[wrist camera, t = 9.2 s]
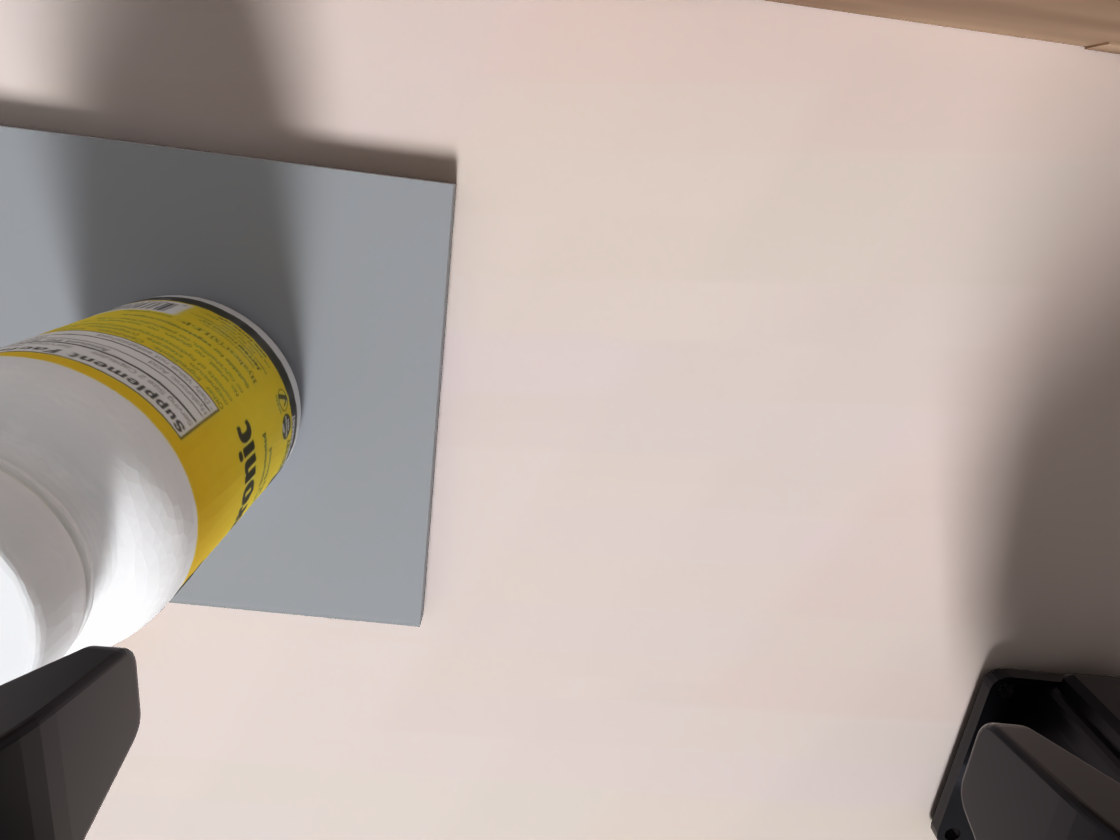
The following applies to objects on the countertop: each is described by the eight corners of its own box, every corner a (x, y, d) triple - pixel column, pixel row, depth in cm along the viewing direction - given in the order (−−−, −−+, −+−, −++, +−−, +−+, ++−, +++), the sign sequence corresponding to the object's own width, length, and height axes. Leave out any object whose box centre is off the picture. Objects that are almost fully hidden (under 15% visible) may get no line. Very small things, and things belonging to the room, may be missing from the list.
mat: (422, 614, 22) (419, 626, 22) (-6, 572, 22) (-21, 584, 21) (456, 183, 18) (453, 184, 18) (-65, 116, 18) (-86, 115, 17)
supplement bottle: (238, 534, 21) (-20, 841, 11) (52, 415, 19) (-405, 648, 10) (349, 380, 19) (160, 586, 10) (156, 243, 18) (-260, 331, 9)
